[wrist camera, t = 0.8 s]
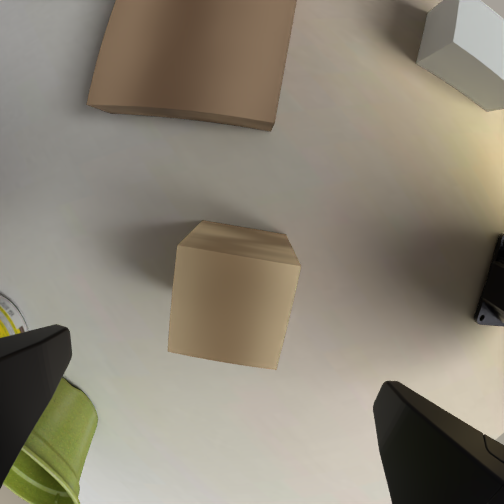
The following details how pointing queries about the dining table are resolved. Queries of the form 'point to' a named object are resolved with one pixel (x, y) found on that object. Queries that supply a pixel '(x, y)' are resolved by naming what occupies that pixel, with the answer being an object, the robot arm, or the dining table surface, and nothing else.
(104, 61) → the walnut block
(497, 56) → the grey block
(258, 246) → the oak block
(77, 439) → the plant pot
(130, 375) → the dining table surface
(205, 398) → the dining table surface
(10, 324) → the supplement bottle
